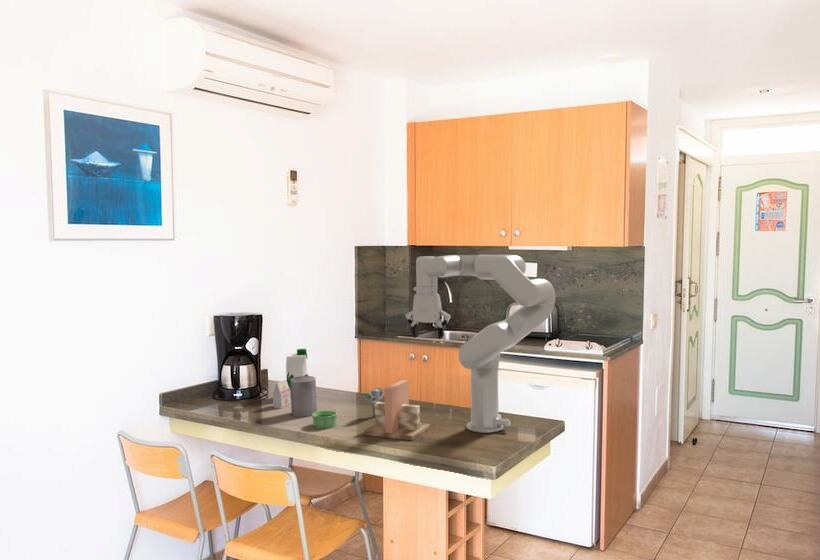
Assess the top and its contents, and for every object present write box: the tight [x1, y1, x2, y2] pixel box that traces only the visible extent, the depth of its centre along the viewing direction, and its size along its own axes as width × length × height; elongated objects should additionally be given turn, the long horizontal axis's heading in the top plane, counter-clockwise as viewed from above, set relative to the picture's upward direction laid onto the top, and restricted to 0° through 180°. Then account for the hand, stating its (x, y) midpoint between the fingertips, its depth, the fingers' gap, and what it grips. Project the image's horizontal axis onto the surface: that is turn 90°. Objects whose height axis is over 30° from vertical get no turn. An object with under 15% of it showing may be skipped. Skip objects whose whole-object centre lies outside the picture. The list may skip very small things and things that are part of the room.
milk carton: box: [285, 348, 309, 394], centre depth 293 cm, size 9×9×20 cm
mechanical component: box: [364, 387, 384, 418], centre depth 258 cm, size 3×10×10 cm, turn 152°
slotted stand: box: [363, 401, 431, 441], centre depth 239 cm, size 18×15×10 cm
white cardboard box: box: [272, 379, 291, 409], centre depth 278 cm, size 4×7×10 cm, turn 155°
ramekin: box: [311, 410, 338, 429], centre depth 249 cm, size 9×9×4 cm
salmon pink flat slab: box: [383, 379, 410, 433], centre depth 239 cm, size 14×2×15 cm, turn 156°
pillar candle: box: [290, 375, 318, 418], centre depth 265 cm, size 10×10×15 cm
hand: (428, 337), depth 251 cm, fingers open, 9 cm apart
